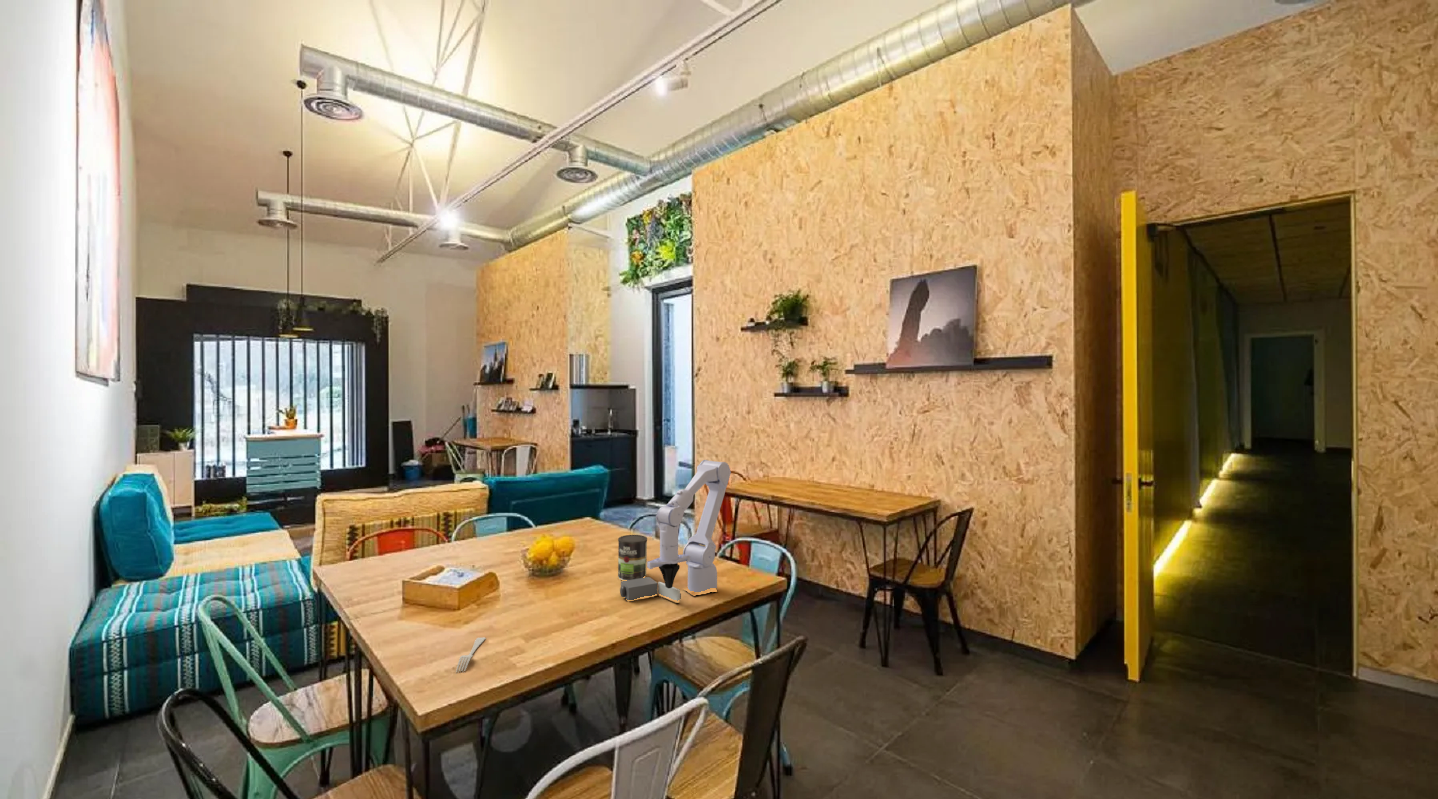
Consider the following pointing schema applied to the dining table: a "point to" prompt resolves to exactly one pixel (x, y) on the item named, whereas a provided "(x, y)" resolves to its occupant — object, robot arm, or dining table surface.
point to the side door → (669, 591)
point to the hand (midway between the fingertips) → (668, 587)
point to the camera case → (638, 588)
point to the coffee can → (632, 557)
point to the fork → (476, 645)
